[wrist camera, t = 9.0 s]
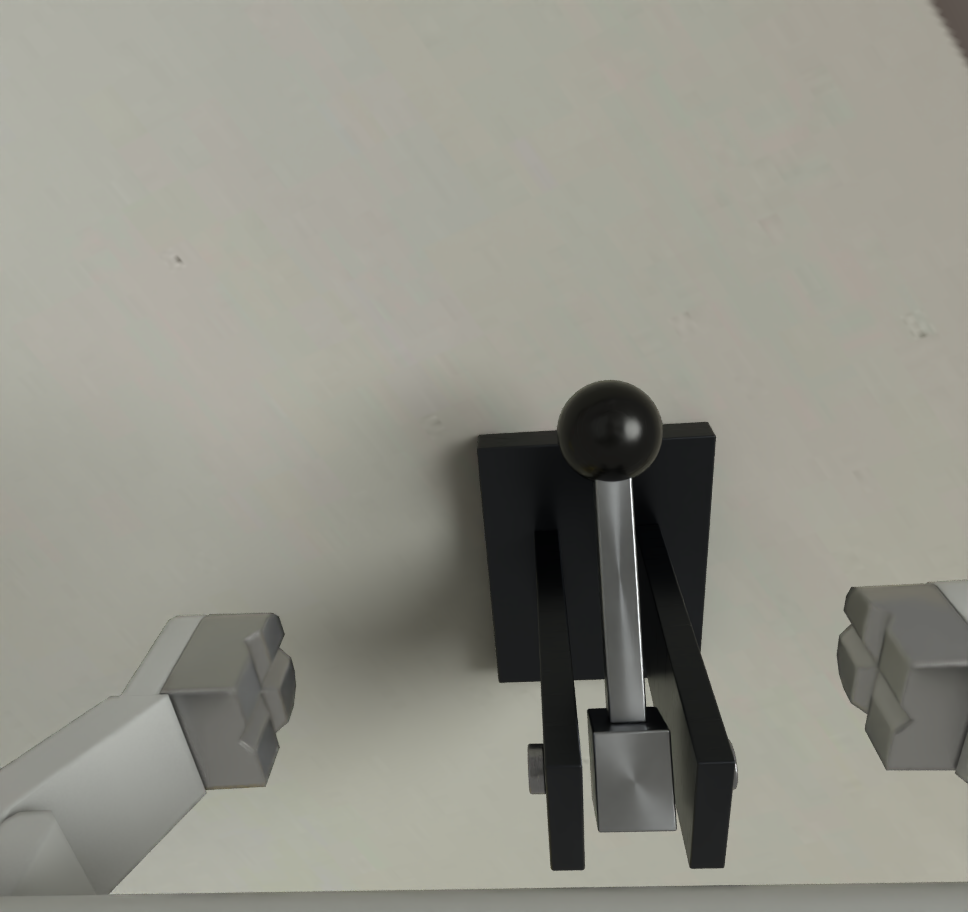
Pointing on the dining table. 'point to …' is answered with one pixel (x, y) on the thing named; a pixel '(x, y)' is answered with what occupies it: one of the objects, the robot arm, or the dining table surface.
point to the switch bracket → (577, 619)
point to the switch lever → (620, 607)
